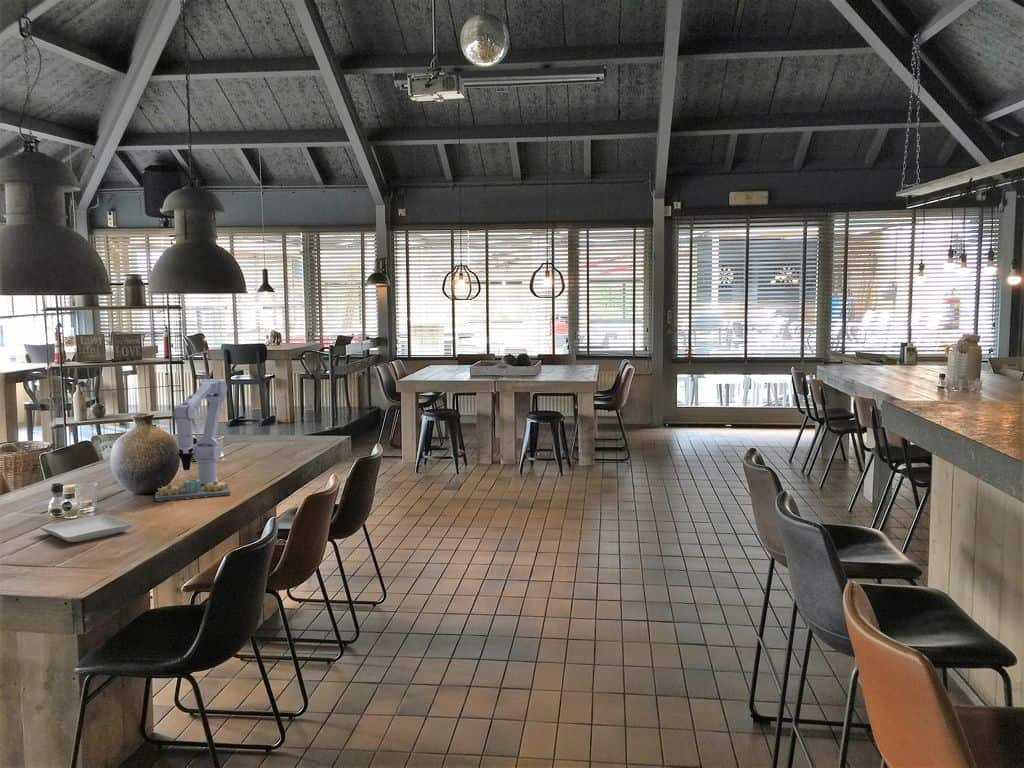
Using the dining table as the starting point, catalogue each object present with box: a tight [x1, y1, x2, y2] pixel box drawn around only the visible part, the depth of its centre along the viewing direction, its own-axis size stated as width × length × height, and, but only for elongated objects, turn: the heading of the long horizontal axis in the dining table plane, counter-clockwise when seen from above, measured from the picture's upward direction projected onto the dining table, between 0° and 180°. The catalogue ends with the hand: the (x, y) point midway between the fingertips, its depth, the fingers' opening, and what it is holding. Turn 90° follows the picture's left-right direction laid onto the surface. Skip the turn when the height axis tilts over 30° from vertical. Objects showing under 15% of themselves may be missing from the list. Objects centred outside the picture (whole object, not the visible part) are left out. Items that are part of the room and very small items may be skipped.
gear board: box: [154, 480, 231, 501], centre depth 317 cm, size 14×27×5 cm, turn 112°
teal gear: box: [184, 478, 202, 493], centre depth 317 cm, size 6×6×4 cm
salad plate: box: [40, 513, 133, 543], centre depth 264 cm, size 21×21×3 cm
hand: (186, 468), depth 322 cm, fingers open, 7 cm apart
